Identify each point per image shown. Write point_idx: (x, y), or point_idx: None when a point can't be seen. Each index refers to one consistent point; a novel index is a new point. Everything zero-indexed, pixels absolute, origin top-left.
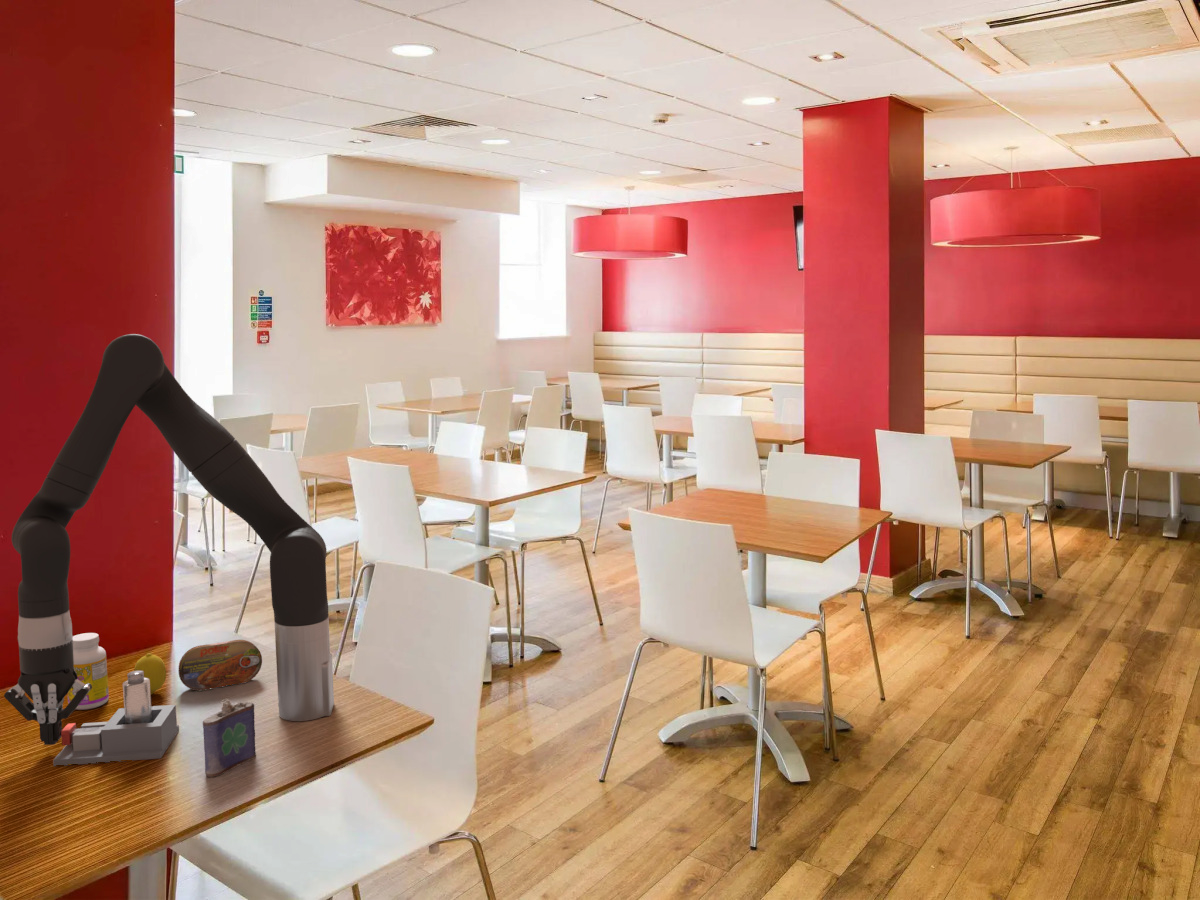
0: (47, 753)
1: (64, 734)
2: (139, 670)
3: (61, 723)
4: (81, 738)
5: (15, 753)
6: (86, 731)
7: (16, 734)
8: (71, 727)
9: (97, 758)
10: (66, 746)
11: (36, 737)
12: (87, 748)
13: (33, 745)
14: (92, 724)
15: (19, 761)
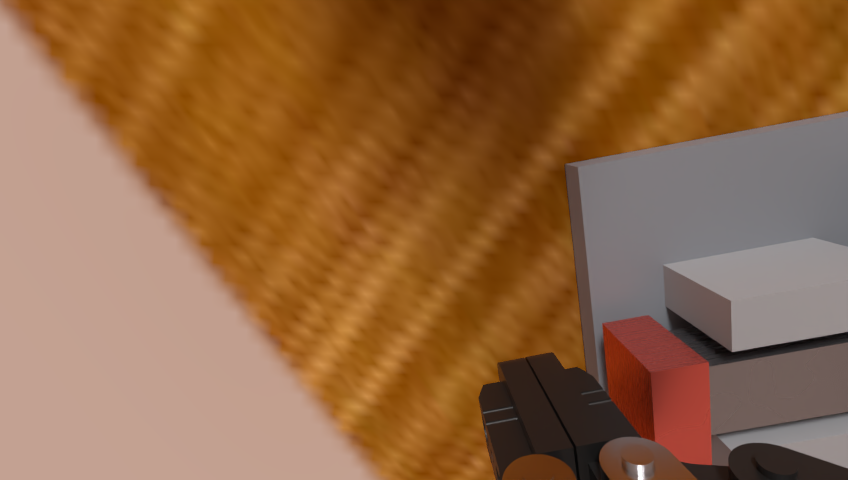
0: (492, 365)
1: None
2: None
3: (633, 431)
4: None
5: (321, 368)
6: (792, 413)
7: (135, 117)
8: (709, 437)
9: None
10: (605, 373)
11: (298, 163)
12: None
13: (354, 273)
14: (808, 323)
15: (402, 449)
